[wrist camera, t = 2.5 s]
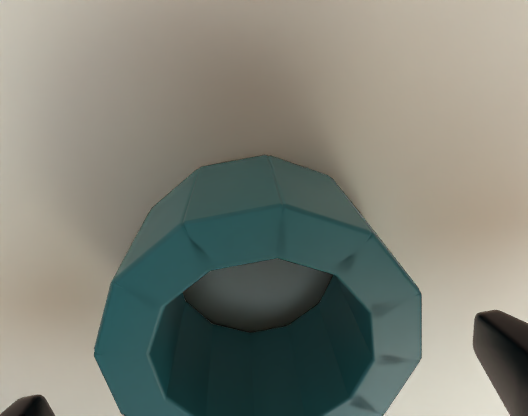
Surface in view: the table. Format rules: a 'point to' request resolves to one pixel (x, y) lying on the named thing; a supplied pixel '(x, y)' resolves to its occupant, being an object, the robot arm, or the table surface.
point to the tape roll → (266, 341)
